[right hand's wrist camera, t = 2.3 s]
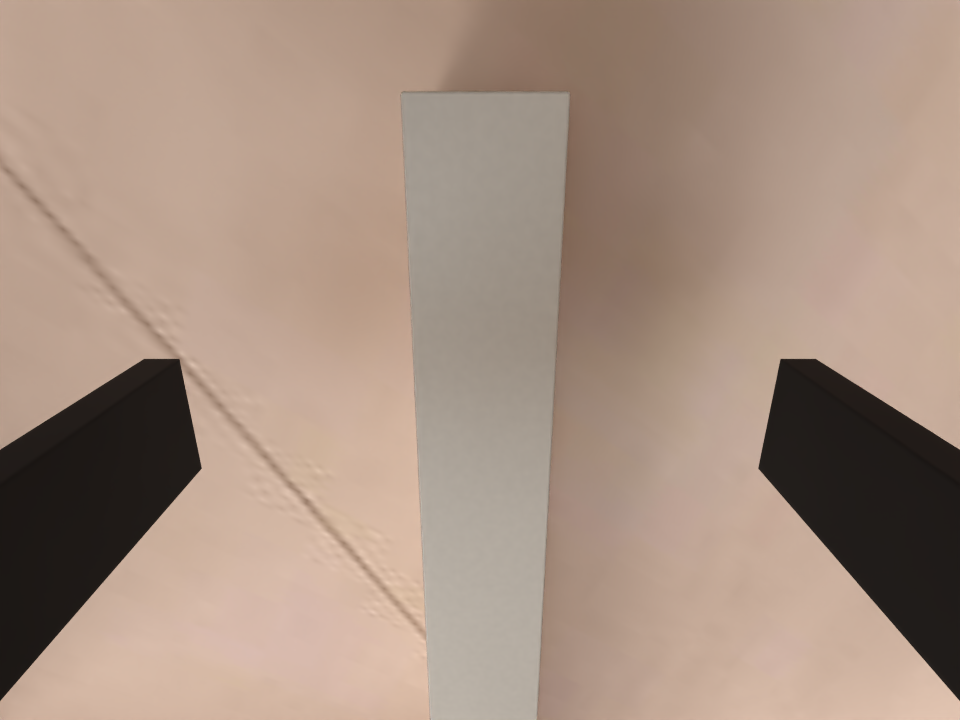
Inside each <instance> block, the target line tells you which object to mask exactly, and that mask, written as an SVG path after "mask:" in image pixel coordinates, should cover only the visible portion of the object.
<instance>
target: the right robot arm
mask: <svg viewBox="0 0 960 720" xmlns="http://www.w3.org/2000/svg"><path fill="white" fill-rule="evenodd" d="M201 469H202V468H201V463H200V458H199V453H198V448H197V443H196V438H195V433H194V429H193V424H192V419H191V414H190V409H189V404H188V399H187V394H186V389H185V384H184V380H183V375H182V370H181V365H180V360H179V359H143V360H142V361H140V362H139V363H137V364H136V365H134V366H132V367H131V368H129V369H128V370H126V371H124V372H123V373H121V374H120V375H118V376H117V377H115V378H113V379H112V380H110V381H109V382H107V383H105V384H104V385H102V386H101V387H99V388H97V389H96V390H94V391H93V392H91V393H90V394H88V395H86V396H85V397H83V398H82V399H80V400H78V401H77V402H75V403H74V404H72V405H71V406H69V407H67V408H66V409H64V410H63V411H61V412H59V413H58V414H56V415H55V416H53V417H52V418H50V419H48V420H47V421H45V422H44V423H42V424H40V425H39V426H37V427H36V428H34V429H32V430H31V431H29V432H28V433H26V434H25V435H23V436H21V437H20V438H18V439H17V440H15V441H13V442H12V443H10V444H9V445H7V446H6V447H4V448H2V449H1V450H0V700H1V699H2V698H3V697H4V696H5V695H6V694H7V692H8V691H9V690H10V689H11V688H12V687H13V685H14V684H15V683H16V682H17V681H18V680H19V679H20V677H21V676H22V675H23V674H24V673H25V672H26V670H27V669H28V668H29V667H30V666H31V665H32V664H33V662H34V661H35V660H36V659H37V658H38V657H39V655H40V654H41V653H42V652H43V651H44V650H45V649H46V647H47V646H48V645H49V644H50V643H51V642H52V640H53V639H54V638H55V637H56V636H57V635H58V634H59V632H60V631H61V630H62V629H63V628H64V627H65V625H66V624H67V623H68V622H69V621H70V620H71V619H72V617H73V616H74V615H75V614H76V613H77V612H78V610H79V609H80V608H81V607H82V606H83V605H84V604H85V602H86V601H87V600H88V599H89V598H90V597H91V595H92V594H93V593H94V592H95V591H96V590H97V589H98V587H99V586H100V585H101V584H102V583H103V582H104V580H105V579H106V578H107V577H108V576H109V575H110V574H111V572H112V571H113V570H114V569H115V568H116V567H117V565H118V564H119V563H120V562H121V561H122V560H123V559H124V557H125V556H126V555H127V554H128V553H129V552H130V550H131V549H132V548H133V547H134V546H135V545H136V544H137V542H138V541H139V540H140V539H141V538H142V537H143V535H144V534H145V533H146V532H147V531H148V530H149V529H150V527H151V526H152V525H153V524H154V523H155V522H156V520H157V519H158V518H159V517H160V516H161V515H162V514H163V512H164V511H165V510H166V509H167V508H168V507H169V505H170V504H171V503H172V502H173V501H174V500H175V499H176V497H177V496H178V495H179V494H180V493H181V492H182V491H183V489H184V488H185V487H186V486H187V485H188V484H189V482H190V481H191V480H192V479H193V478H194V477H195V476H196V474H197V473H198V472H199V471H200V470H201ZM758 469H759V470H760V471H761V472H762V473H763V474H764V476H765V477H766V478H767V479H768V480H769V481H770V482H771V484H772V485H773V486H774V487H775V488H776V489H777V491H778V492H779V493H780V494H781V495H782V496H783V497H784V499H785V500H786V501H787V502H788V503H789V504H790V505H791V507H792V508H793V509H794V510H795V511H796V512H797V514H798V515H799V516H800V517H801V518H802V519H803V520H804V522H805V523H806V524H807V525H808V526H809V527H810V529H811V530H812V531H813V532H814V533H815V534H816V535H817V537H818V538H819V539H820V540H821V541H822V542H823V544H824V545H825V546H826V547H827V548H828V549H829V550H830V552H831V553H832V554H833V555H834V556H835V557H836V559H837V560H838V561H839V562H840V563H841V564H842V565H843V567H844V568H845V569H846V570H847V571H848V572H849V574H850V575H851V576H852V577H853V578H854V579H855V580H856V582H857V583H858V584H859V585H860V586H861V587H862V589H863V590H864V591H865V592H866V593H867V594H868V595H869V597H870V598H871V599H872V600H873V601H874V602H875V604H876V605H877V606H878V607H879V608H880V609H881V610H882V612H883V613H884V614H885V615H886V616H887V617H888V619H889V620H890V621H891V622H892V623H893V624H894V625H895V627H896V628H897V629H898V630H899V631H900V632H901V634H902V635H903V636H904V637H905V638H906V639H907V640H908V642H909V643H910V644H911V645H912V646H913V647H914V649H915V650H916V651H917V652H918V653H919V654H920V655H921V657H922V658H923V659H924V660H925V661H926V662H927V664H928V665H929V666H930V667H931V668H932V669H933V670H934V672H935V673H936V674H937V675H938V676H939V677H940V679H941V680H942V681H943V682H944V683H945V684H946V685H947V687H948V688H949V689H950V690H951V691H952V692H953V694H954V695H955V696H956V697H957V698H958V699H959V700H960V450H959V449H958V448H956V447H954V446H953V445H951V444H950V443H948V442H947V441H945V440H943V439H942V438H940V437H939V436H937V435H935V434H934V433H932V432H931V431H929V430H928V429H926V428H924V427H923V426H921V425H920V424H918V423H916V422H915V421H913V420H912V419H910V418H908V417H907V416H905V415H904V414H902V413H901V412H899V411H897V410H896V409H894V408H893V407H891V406H889V405H888V404H886V403H885V402H883V401H882V400H880V399H878V398H877V397H875V396H874V395H872V394H870V393H869V392H867V391H866V390H864V389H863V388H861V387H859V386H858V385H856V384H855V383H853V382H851V381H850V380H848V379H847V378H845V377H843V376H842V375H840V374H839V373H837V372H836V371H834V370H832V369H831V368H829V367H828V366H826V365H824V364H823V363H821V362H820V361H818V360H817V359H781V360H780V365H779V370H778V375H777V380H776V384H775V389H774V394H773V399H772V404H771V409H770V414H769V419H768V424H767V429H766V433H765V438H764V443H763V448H762V453H761V458H760V463H759V468H758Z"/></svg>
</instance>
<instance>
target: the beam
mask: <svg viewBox="0 0 960 720" xmlns="http://www.w3.org/2000/svg"><path fill="white" fill-rule="evenodd" d="M569 110H570V92H568V91H403V92H401V114H402V135H403V156H404V178H405V199H406V220H407V241H408V263H409V284H410V305H411V326H412V348H413V369H414V390H415V411H416V433H417V454H418V475H419V496H420V518H421V539H422V560H423V581H424V603H425V624H426V645H427V667H428V688H429V709H430V720H537V715H538V696H539V677H540V658H541V639H542V620H543V601H544V582H545V563H546V545H547V526H548V507H549V488H550V469H551V450H552V431H553V412H554V393H555V374H556V356H557V337H558V318H559V299H560V280H561V261H562V242H563V223H564V204H565V185H566V167H567V148H568V129H569Z"/></svg>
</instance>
